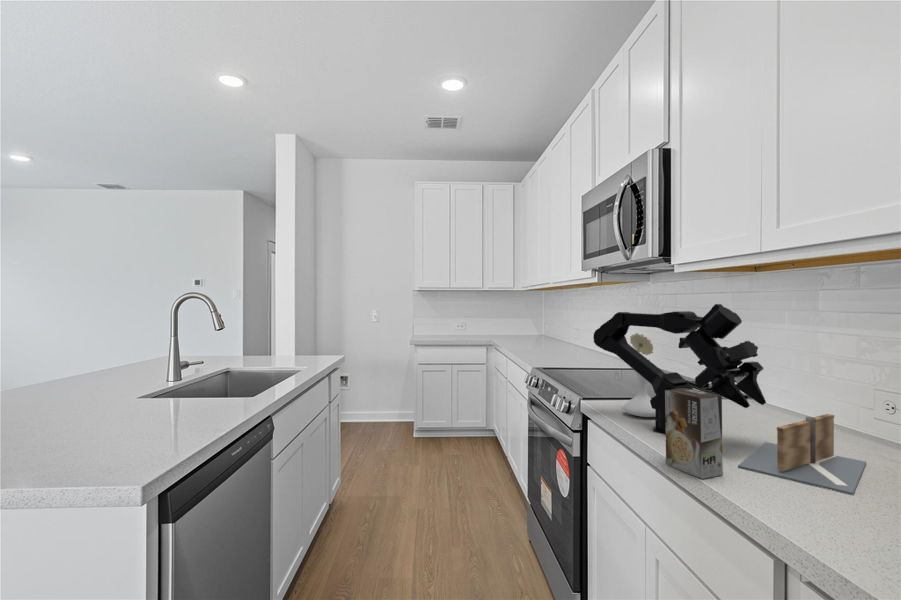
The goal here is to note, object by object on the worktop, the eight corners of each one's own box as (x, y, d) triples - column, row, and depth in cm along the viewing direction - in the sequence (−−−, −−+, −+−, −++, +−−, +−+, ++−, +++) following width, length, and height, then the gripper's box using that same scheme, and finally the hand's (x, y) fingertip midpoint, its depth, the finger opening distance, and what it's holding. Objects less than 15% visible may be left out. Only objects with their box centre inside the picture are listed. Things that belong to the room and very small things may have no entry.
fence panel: (804, 460, 95) (804, 420, 95) (811, 462, 94) (810, 421, 94) (776, 469, 90) (776, 427, 90) (783, 471, 89) (783, 428, 89)
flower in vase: (671, 419, 130) (670, 335, 130) (633, 420, 129) (633, 335, 129) (648, 409, 143) (648, 331, 143) (614, 409, 142) (613, 332, 142)
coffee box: (724, 475, 89) (724, 395, 89) (701, 480, 87) (701, 398, 87) (685, 460, 97) (685, 387, 97) (663, 463, 95) (663, 389, 95)
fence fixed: (804, 463, 95) (804, 417, 95) (826, 456, 100) (826, 411, 100) (813, 466, 94) (813, 418, 94) (835, 458, 98) (835, 413, 98)
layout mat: (737, 467, 93) (737, 465, 93) (765, 443, 108) (765, 441, 108) (853, 495, 80) (853, 492, 80) (866, 463, 95) (866, 461, 95)
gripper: (707, 330, 100) (760, 388, 90) (754, 328, 109) (807, 380, 99) (675, 361, 107) (721, 417, 97) (722, 356, 116) (768, 408, 106)
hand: (756, 405), depth 100 cm, fingers open, 6 cm apart
